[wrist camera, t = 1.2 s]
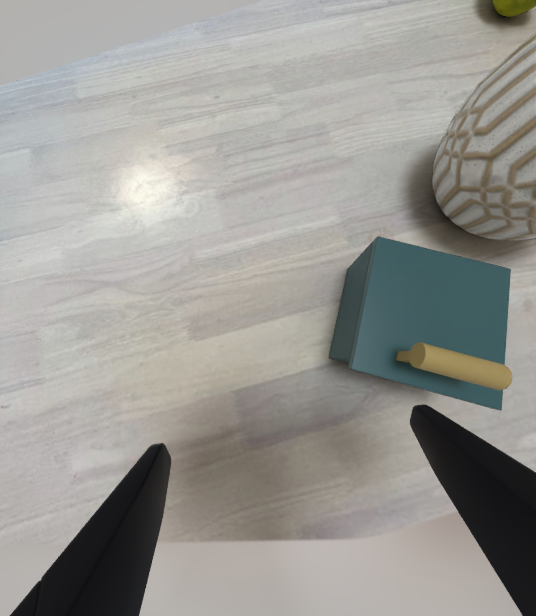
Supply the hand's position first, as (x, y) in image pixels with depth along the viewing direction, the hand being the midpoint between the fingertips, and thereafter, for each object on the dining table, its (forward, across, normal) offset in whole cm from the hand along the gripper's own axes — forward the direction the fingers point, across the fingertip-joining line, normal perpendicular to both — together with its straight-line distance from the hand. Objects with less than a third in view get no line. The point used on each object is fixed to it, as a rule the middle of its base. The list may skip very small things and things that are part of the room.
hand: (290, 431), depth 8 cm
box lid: (+10, -12, +2) cm, 16 cm away
